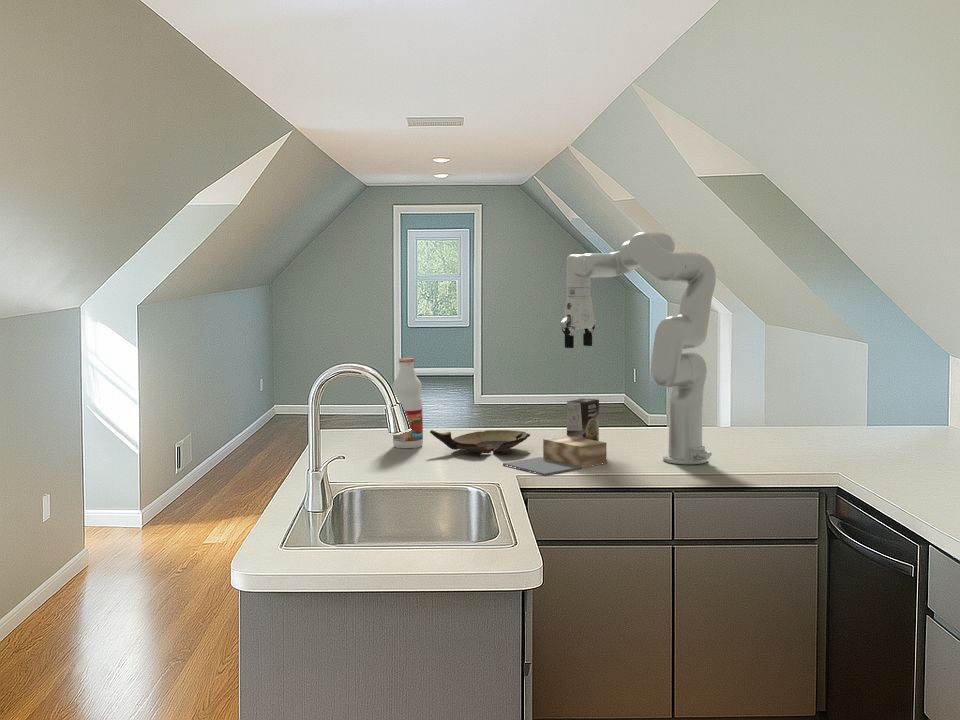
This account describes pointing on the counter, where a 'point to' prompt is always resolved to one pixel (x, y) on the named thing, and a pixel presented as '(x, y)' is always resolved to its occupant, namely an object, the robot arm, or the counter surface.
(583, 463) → the oak step
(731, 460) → the counter surface
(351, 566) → the counter surface
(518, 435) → the brown shallow curved piece
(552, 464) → the rubber mat
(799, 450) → the counter surface
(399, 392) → the fruit juice
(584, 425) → the coffee box
